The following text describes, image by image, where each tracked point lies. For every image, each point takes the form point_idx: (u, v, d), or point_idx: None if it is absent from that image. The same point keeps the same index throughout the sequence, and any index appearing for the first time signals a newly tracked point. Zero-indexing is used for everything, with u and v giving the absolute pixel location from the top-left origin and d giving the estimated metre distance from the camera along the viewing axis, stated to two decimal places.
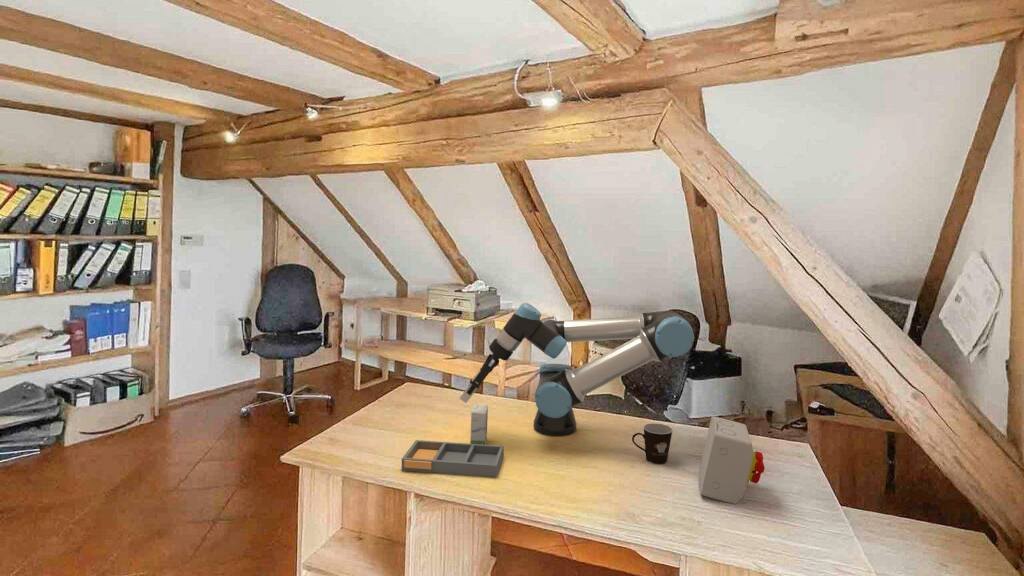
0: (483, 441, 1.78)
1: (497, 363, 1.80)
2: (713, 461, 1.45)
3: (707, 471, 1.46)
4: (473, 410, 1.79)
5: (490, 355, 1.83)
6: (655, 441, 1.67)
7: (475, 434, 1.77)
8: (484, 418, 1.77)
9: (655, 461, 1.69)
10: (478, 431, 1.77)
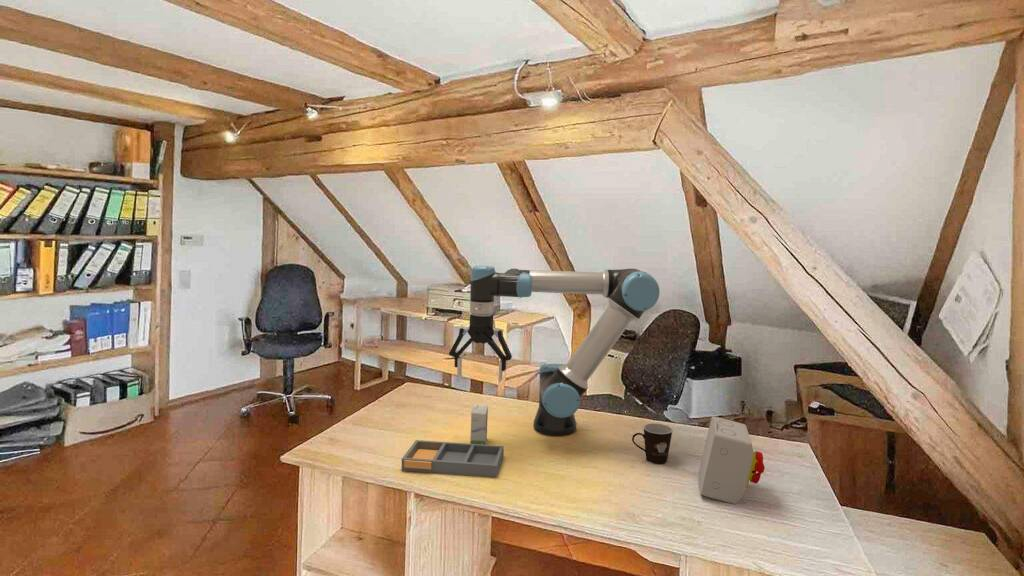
0: (483, 441, 1.78)
1: None
2: (713, 461, 1.45)
3: (707, 471, 1.46)
4: (473, 410, 1.79)
5: (477, 333, 1.76)
6: (655, 441, 1.67)
7: (475, 434, 1.77)
8: (484, 418, 1.77)
9: (655, 461, 1.69)
10: (478, 431, 1.77)
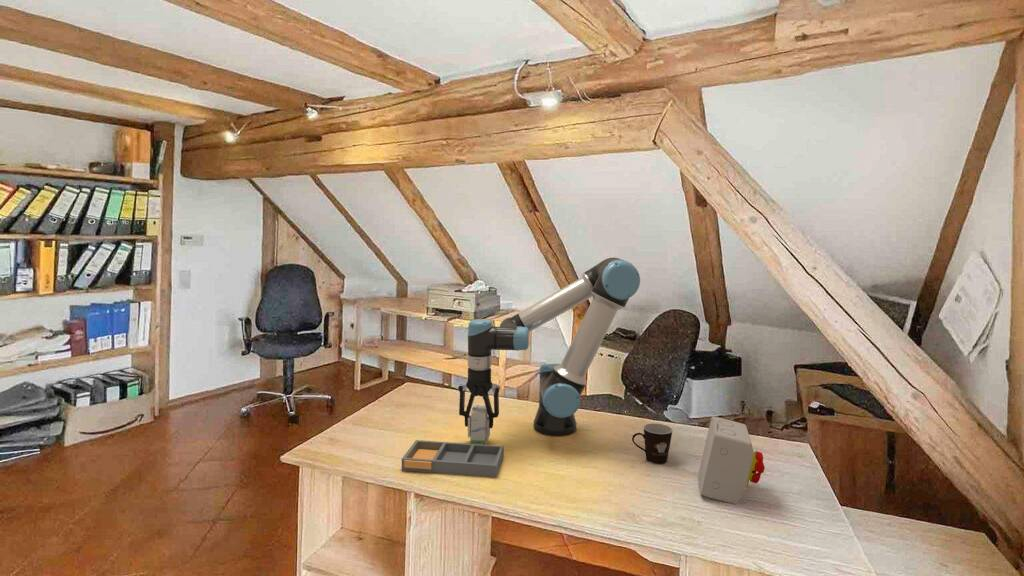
0: (483, 441, 1.78)
1: None
2: (713, 461, 1.45)
3: (707, 471, 1.46)
4: (473, 410, 1.79)
5: (475, 386, 1.78)
6: (655, 441, 1.67)
7: (475, 434, 1.77)
8: (484, 418, 1.77)
9: (655, 461, 1.69)
10: (478, 431, 1.77)
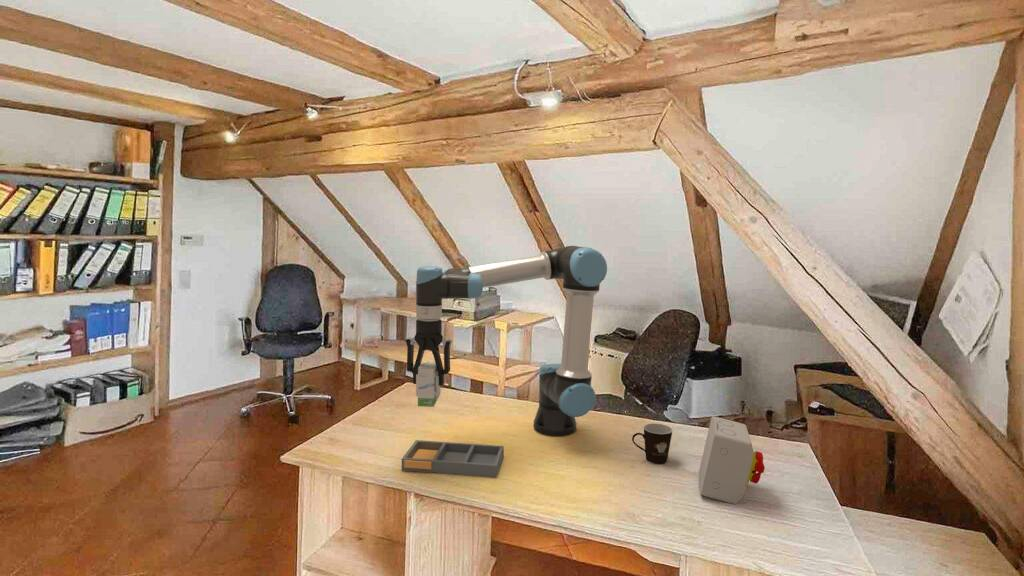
0: (431, 399, 1.63)
1: None
2: (713, 461, 1.45)
3: (707, 471, 1.46)
4: (421, 365, 1.64)
5: (424, 339, 1.63)
6: (655, 441, 1.67)
7: (423, 391, 1.62)
8: (432, 373, 1.62)
9: (655, 461, 1.69)
10: (426, 388, 1.62)
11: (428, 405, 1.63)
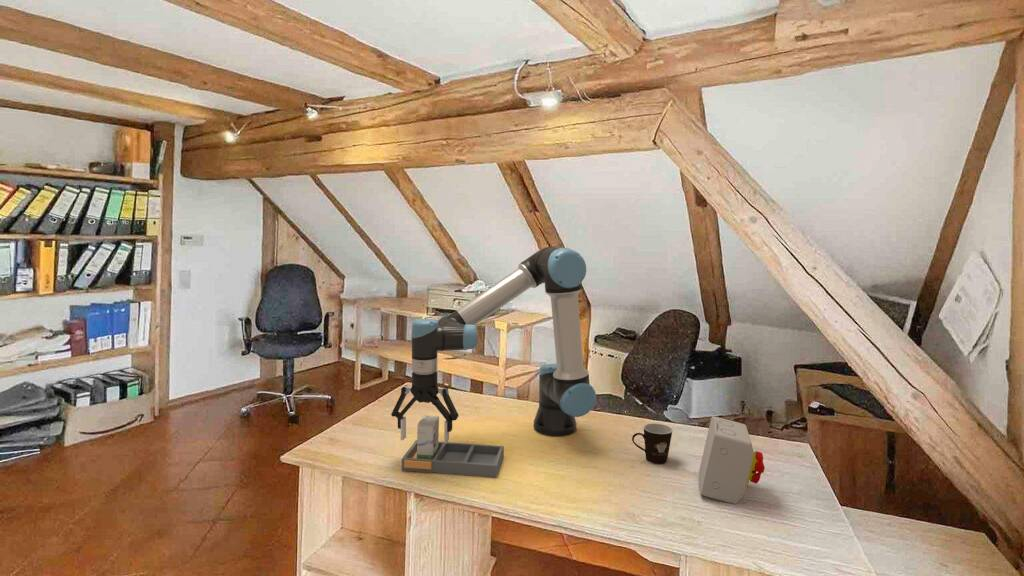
0: (430, 456, 1.64)
1: None
2: (713, 461, 1.45)
3: (707, 471, 1.46)
4: (420, 422, 1.65)
5: (420, 392, 1.64)
6: (655, 441, 1.67)
7: (422, 447, 1.63)
8: (431, 431, 1.62)
9: (655, 461, 1.69)
10: (425, 445, 1.63)
11: None
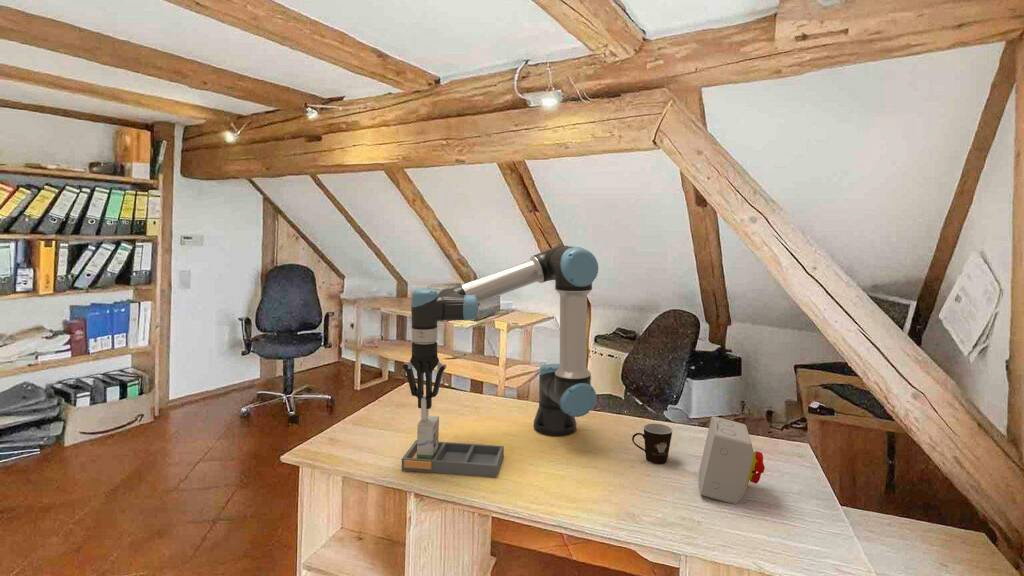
0: (430, 456, 1.64)
1: None
2: (713, 461, 1.45)
3: (707, 471, 1.46)
4: (420, 422, 1.65)
5: (419, 362, 1.63)
6: (655, 441, 1.67)
7: (422, 447, 1.63)
8: (431, 431, 1.62)
9: (655, 461, 1.69)
10: (425, 445, 1.63)
11: None
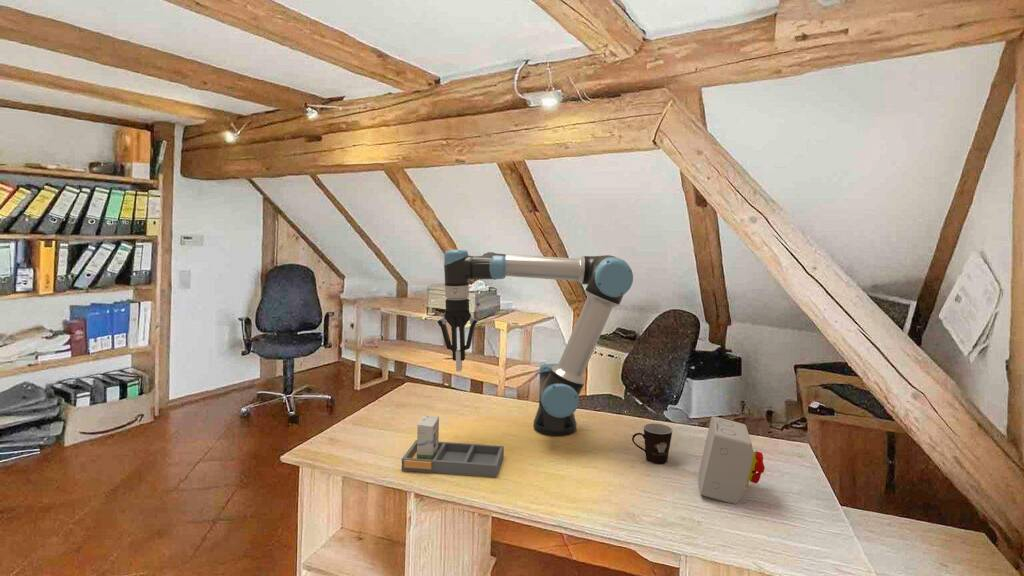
0: (430, 456, 1.64)
1: None
2: (713, 461, 1.45)
3: (707, 471, 1.46)
4: (420, 422, 1.65)
5: (453, 317, 1.76)
6: (655, 441, 1.67)
7: (422, 447, 1.63)
8: (431, 431, 1.62)
9: (655, 461, 1.69)
10: (425, 445, 1.63)
11: None
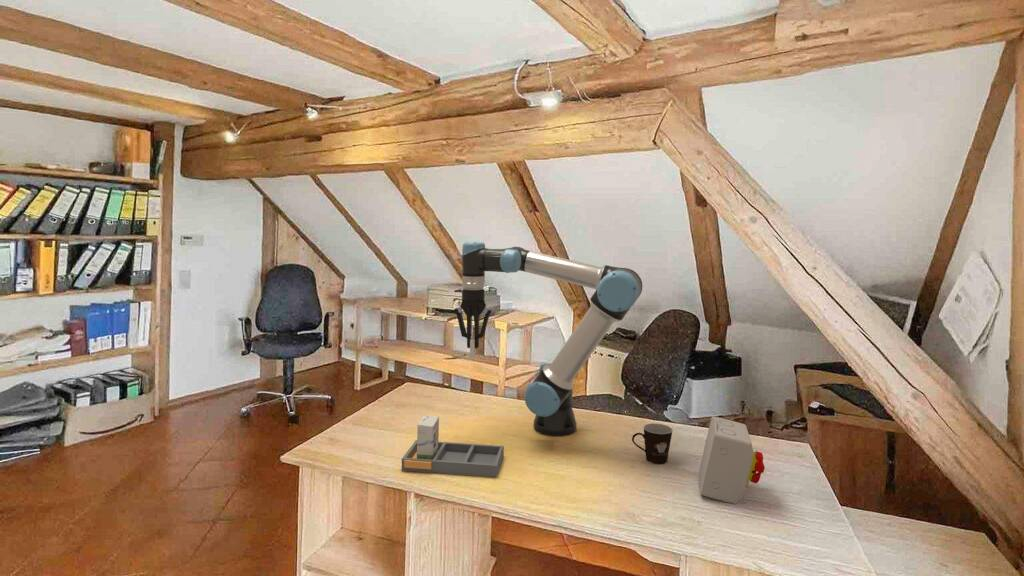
0: (430, 456, 1.64)
1: None
2: (713, 461, 1.45)
3: (707, 471, 1.46)
4: (420, 422, 1.65)
5: (469, 306, 1.85)
6: (655, 441, 1.67)
7: (422, 447, 1.63)
8: (431, 431, 1.62)
9: (655, 461, 1.69)
10: (425, 445, 1.63)
11: None
